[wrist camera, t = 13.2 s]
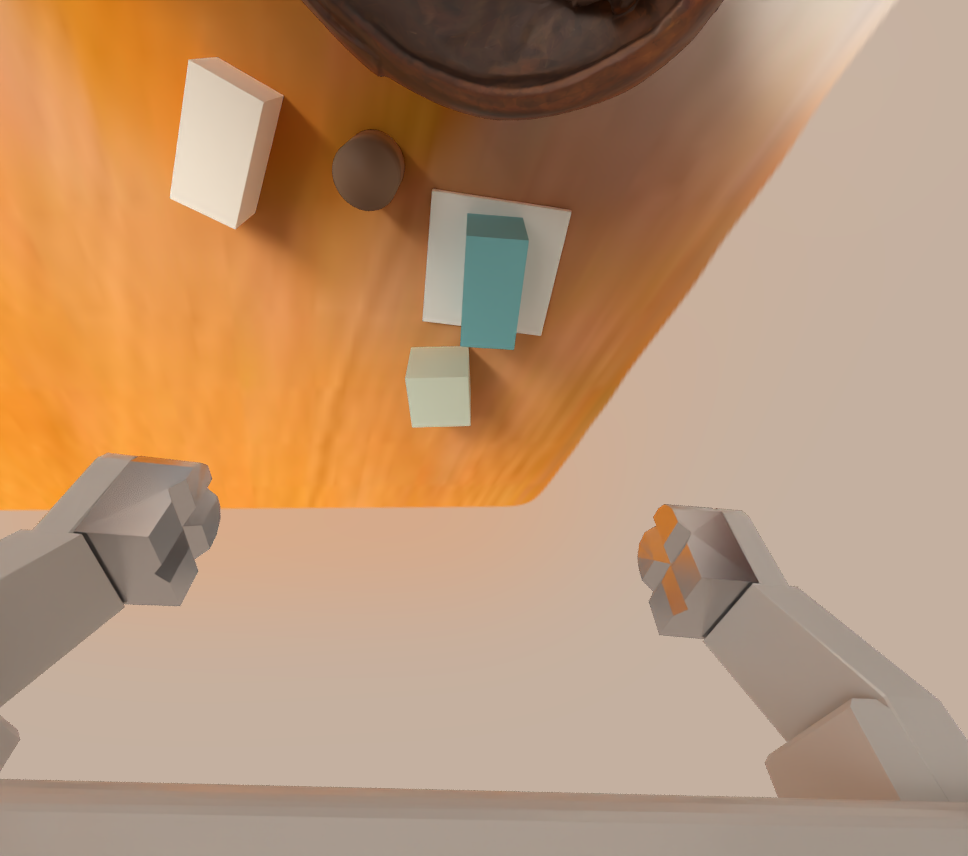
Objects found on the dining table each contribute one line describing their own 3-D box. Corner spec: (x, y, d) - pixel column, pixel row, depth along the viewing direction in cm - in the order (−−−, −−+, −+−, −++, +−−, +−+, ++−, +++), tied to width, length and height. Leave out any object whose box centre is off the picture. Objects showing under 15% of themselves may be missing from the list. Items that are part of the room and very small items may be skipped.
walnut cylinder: (346, 190, 34) (333, 205, 31) (344, 124, 32) (330, 134, 28) (403, 198, 34) (396, 215, 31) (405, 134, 32) (398, 145, 29)
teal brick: (467, 213, 35) (466, 235, 31) (522, 217, 35) (528, 240, 31) (461, 315, 40) (460, 346, 36) (509, 319, 40) (513, 349, 36)
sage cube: (411, 346, 42) (417, 393, 45) (405, 378, 38) (412, 427, 41) (468, 345, 42) (470, 392, 45) (468, 376, 38) (470, 425, 41)
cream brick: (197, 183, 34) (169, 198, 31) (218, 56, 29) (188, 59, 26) (256, 212, 35) (235, 229, 32) (284, 95, 31) (263, 102, 28)
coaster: (422, 317, 40) (422, 320, 40) (432, 188, 34) (432, 190, 34) (540, 332, 41) (540, 335, 41) (570, 209, 35) (571, 212, 35)
